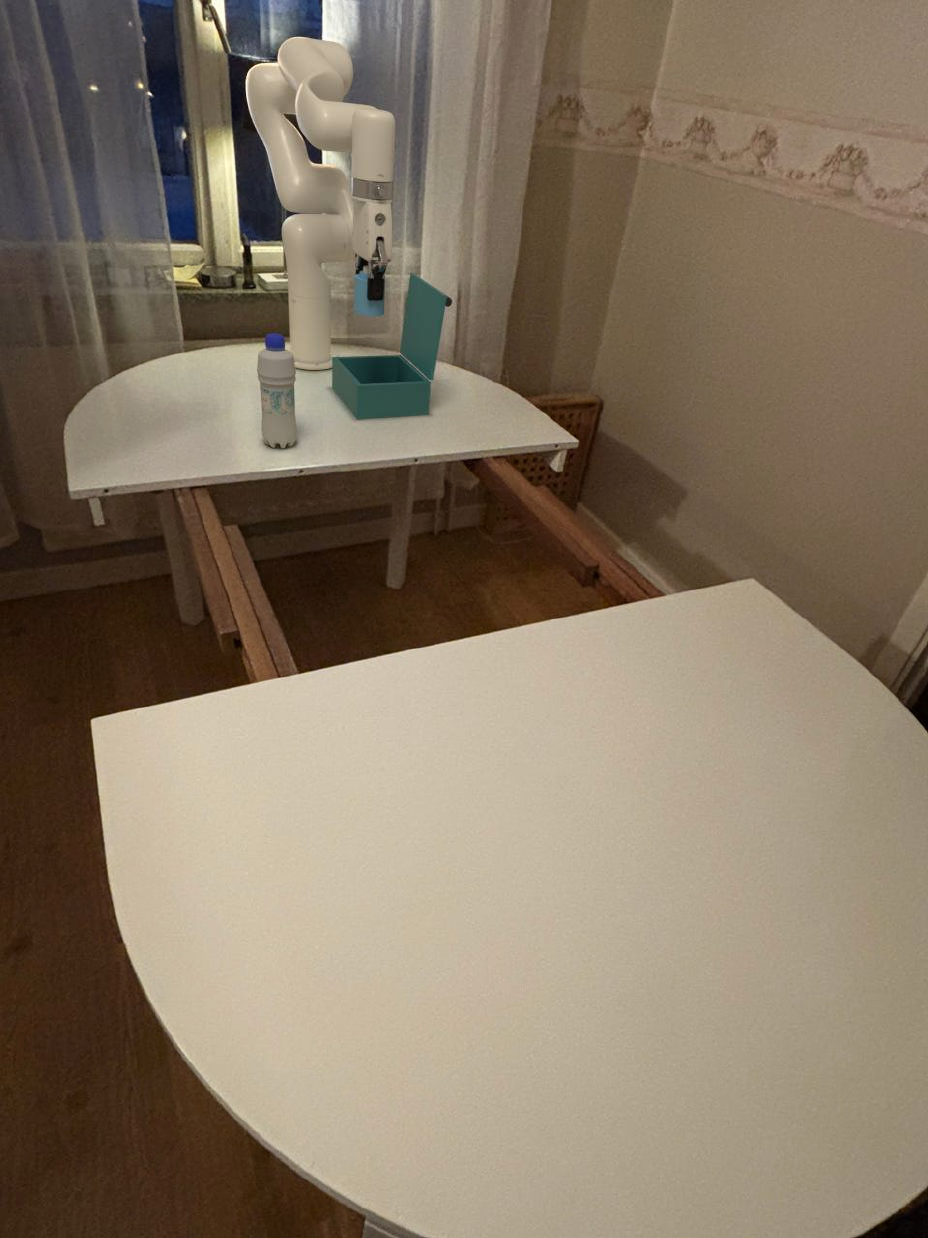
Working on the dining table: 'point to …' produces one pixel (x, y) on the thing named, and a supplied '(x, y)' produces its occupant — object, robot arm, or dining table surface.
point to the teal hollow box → (380, 386)
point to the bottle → (277, 392)
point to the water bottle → (360, 296)
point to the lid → (423, 324)
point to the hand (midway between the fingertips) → (369, 294)
